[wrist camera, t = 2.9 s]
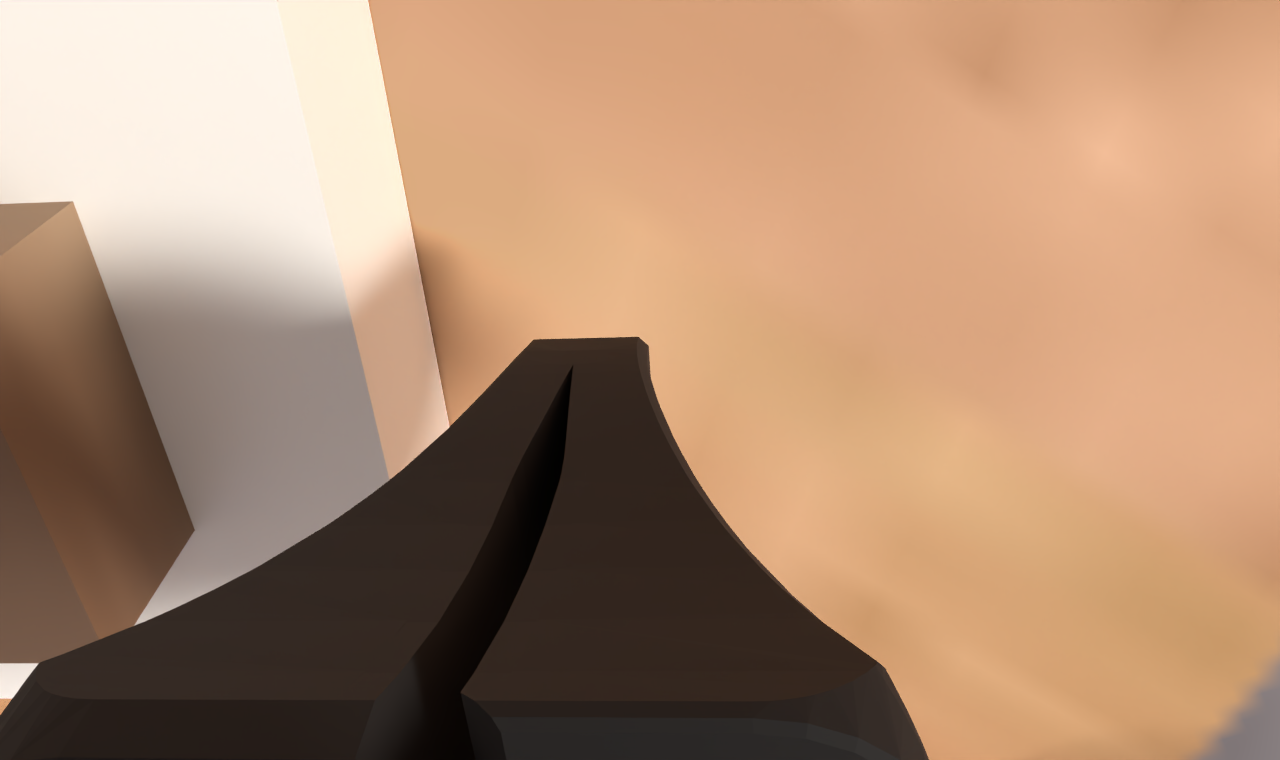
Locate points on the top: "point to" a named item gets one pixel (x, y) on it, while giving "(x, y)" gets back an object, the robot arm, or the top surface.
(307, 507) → the board
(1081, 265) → the top surface
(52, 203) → the walnut tile
